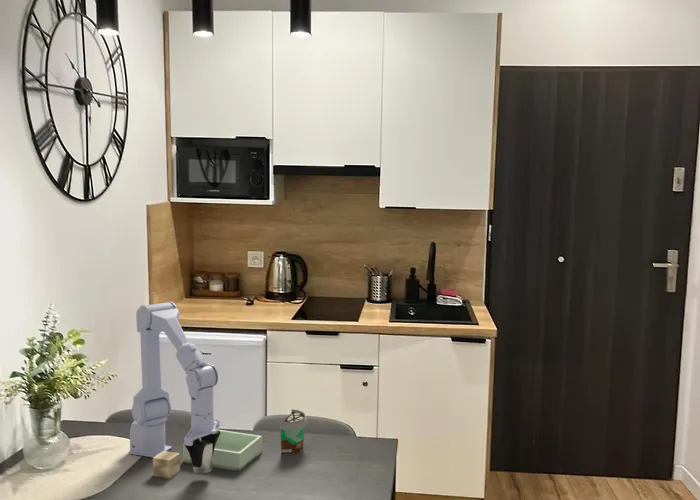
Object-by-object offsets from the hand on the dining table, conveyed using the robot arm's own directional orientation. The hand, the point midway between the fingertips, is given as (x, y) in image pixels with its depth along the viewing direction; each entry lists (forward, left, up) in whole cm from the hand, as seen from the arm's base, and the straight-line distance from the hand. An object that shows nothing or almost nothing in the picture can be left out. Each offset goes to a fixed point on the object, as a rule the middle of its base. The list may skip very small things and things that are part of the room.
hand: (202, 462), depth 182 cm
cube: (-11, 0, -5) cm, 12 cm away
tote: (-2, +14, -5) cm, 15 cm away
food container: (+15, +27, -5) cm, 31 cm away
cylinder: (0, 0, -2) cm, 2 cm away
